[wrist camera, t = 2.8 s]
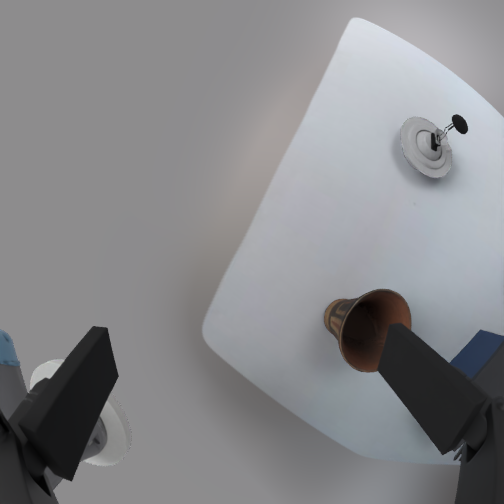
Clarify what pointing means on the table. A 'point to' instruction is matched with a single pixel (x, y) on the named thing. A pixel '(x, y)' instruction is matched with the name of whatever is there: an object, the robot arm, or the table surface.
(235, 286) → the table surface
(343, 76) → the table surface
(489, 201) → the table surface
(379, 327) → the cup
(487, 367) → the storage box
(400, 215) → the table surface
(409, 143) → the round stand with stem
